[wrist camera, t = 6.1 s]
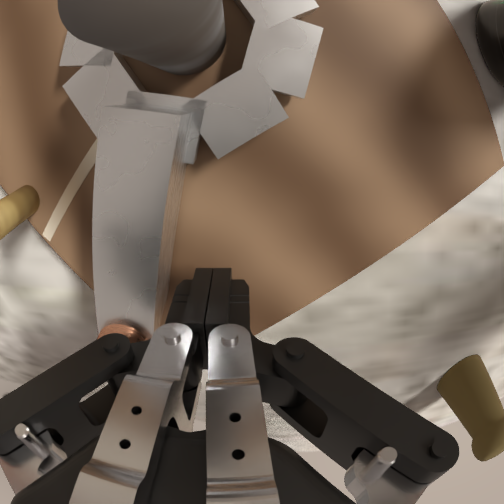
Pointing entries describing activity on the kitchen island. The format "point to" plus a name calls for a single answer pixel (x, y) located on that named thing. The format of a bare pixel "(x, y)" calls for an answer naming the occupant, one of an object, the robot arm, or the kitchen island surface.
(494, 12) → the supplement bottle
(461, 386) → the cork
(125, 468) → the robot arm
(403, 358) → the kitchen island surface
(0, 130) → the board
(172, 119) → the segmented ring with handle
